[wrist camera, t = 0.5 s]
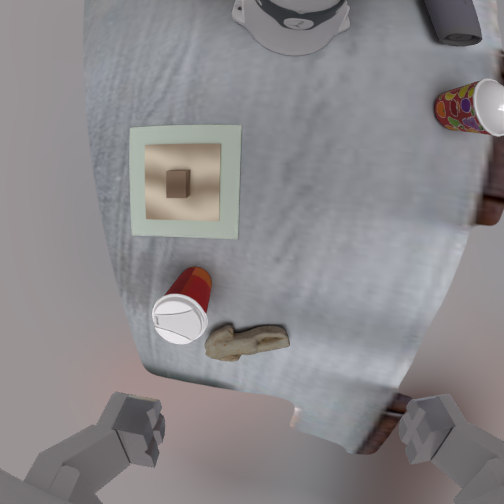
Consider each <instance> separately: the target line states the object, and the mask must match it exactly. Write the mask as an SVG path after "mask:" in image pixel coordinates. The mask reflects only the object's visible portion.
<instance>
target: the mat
mask: <svg viewBox="0 0 504 504" xmlns="http://www.w3.org/2000/svg"><path fill="white" fill-rule="evenodd" d="M241 136H242V125H169V126H149V127H134V128H130V204H131V224H132V235H139V236H167V237H193V238H217V239H238V225H239V193H240V163H241ZM157 144H221V167H220V215H219V221H191V220H153V219H146V208H145V145H157Z"/></svg>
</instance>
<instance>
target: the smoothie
mask: <svg viewBox="0 0 504 504" xmlns="http://www.w3.org/2000/svg"><path fill="white" fill-rule="evenodd" d="M435 114H436V117H437V119H438V120H439V122H440V123H441V124H442V125H443V126H444V127H446V128H448V129H449V130H456V131H465V132H474V133H481V134H489V135H494V136H503V135H504V86H503V85H501V84H499V83H498V82H497V81H495V80H493V79H490V78H488V79H482V80H481V81H477V82H474V83H471V84H468V85H465V86H462V87H459V88H456V89H453V90H450V91H447V92H444V93H442V94H441V95H440V96H439V97H438V99H437V101H436V103H435Z"/></svg>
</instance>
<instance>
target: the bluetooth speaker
mask: <svg viewBox="0 0 504 504" xmlns="http://www.w3.org/2000/svg"><path fill="white" fill-rule="evenodd" d="M424 2H425V4H426V7H427V10H428V13H429V15H430V17H431V20H432V23H433V26H434V29H435V31H436V34H437V36H438V39H439V41H440V42H441V43H442V44H449V45H455V46H469V45H475V44H478V43H479V42H480V41H481V40H482V34H481V29H480V24H479V21H478V17H477V14H476V11H475V8H474V5H473V2H472V0H424Z"/></svg>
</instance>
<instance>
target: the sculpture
mask: <svg viewBox="0 0 504 504" xmlns="http://www.w3.org/2000/svg"><path fill="white" fill-rule="evenodd" d="M233 331H234V328H233V326H231V325H226V326H224V327H222V328H220V329H218V330H215V331H213V332H212V333H211V334H210V336H209V337H208V339H207V340H206V342H205V349H206V355H207V356H208V357H210V358H213V359H218V360H221V361H237V360H239V358H240V356H241V355H242V354H245V355H251V354H255V353H258V352H264V351H270V350H275V349H280V348H284V347H289V346H290V342H289V339H288V335H287V333H286V331H285V330H284V329H282V328H281V327H278V326H261V327H257V328H254V329H252V330H249V331H246V332H242V333H233Z"/></svg>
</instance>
